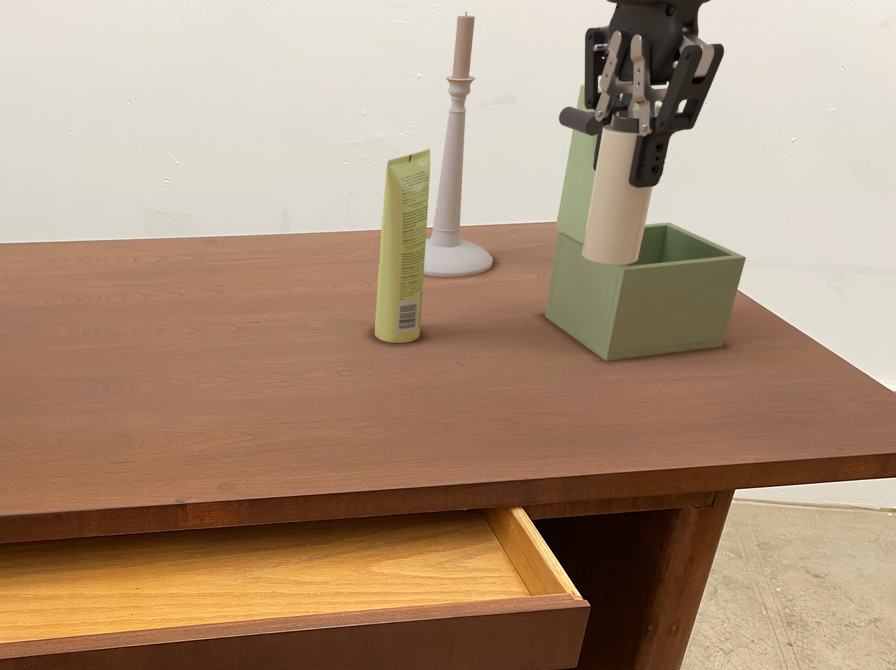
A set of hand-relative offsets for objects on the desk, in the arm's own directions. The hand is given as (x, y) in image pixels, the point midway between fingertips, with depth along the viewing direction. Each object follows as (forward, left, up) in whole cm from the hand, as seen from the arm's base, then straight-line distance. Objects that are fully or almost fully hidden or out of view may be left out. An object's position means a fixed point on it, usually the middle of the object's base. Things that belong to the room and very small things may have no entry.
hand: (624, 177), depth 72 cm
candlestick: (-7, -46, -22) cm, 52 cm away
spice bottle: (0, 0, -6) cm, 6 cm away
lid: (-11, -18, -4) cm, 21 cm away
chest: (-17, -18, -22) cm, 33 cm away
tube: (+8, -24, -22) cm, 34 cm away
